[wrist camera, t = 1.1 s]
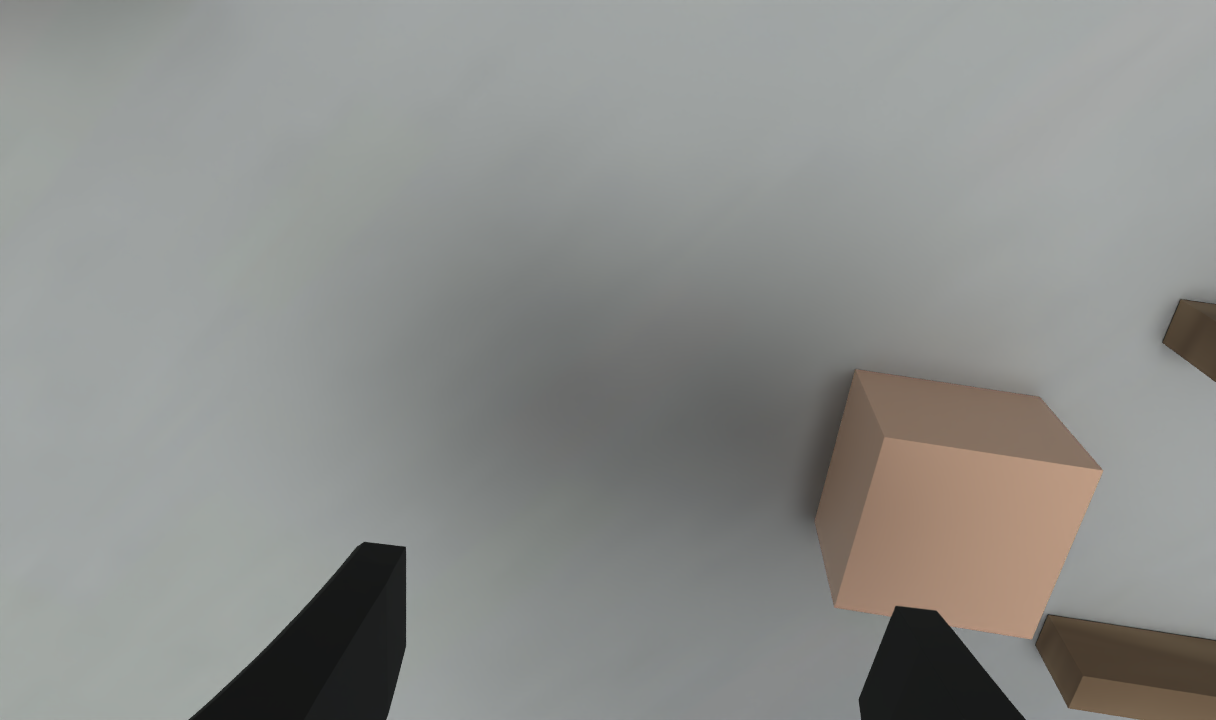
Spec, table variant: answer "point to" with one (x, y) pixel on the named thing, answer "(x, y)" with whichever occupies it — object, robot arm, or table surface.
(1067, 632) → the channel
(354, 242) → the table surface
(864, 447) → the block
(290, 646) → the robot arm
